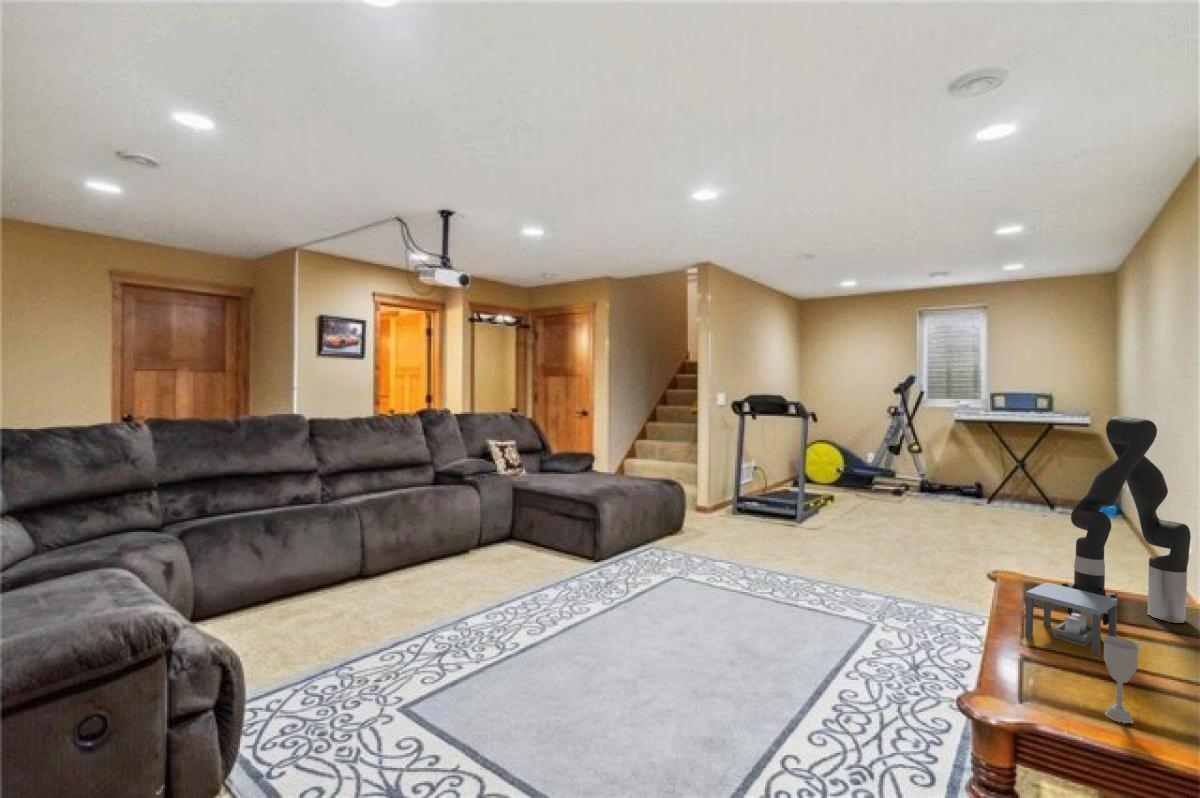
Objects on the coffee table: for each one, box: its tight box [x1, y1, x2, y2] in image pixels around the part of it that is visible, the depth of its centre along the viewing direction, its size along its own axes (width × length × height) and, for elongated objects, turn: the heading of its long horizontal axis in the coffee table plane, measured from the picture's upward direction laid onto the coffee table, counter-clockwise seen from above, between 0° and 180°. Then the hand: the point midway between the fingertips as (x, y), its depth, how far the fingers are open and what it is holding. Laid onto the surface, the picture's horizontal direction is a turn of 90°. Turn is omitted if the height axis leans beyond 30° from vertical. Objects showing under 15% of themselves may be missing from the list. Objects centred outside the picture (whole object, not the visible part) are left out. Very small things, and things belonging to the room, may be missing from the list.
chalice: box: [1101, 635, 1142, 725], centre depth 135 cm, size 7×7×18 cm
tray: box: [1052, 611, 1093, 647], centre depth 181 cm, size 18×8×7 cm, turn 124°
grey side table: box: [1024, 581, 1118, 659], centre depth 177 cm, size 16×18×14 cm
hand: (1088, 620), depth 186 cm, fingers open, 8 cm apart
